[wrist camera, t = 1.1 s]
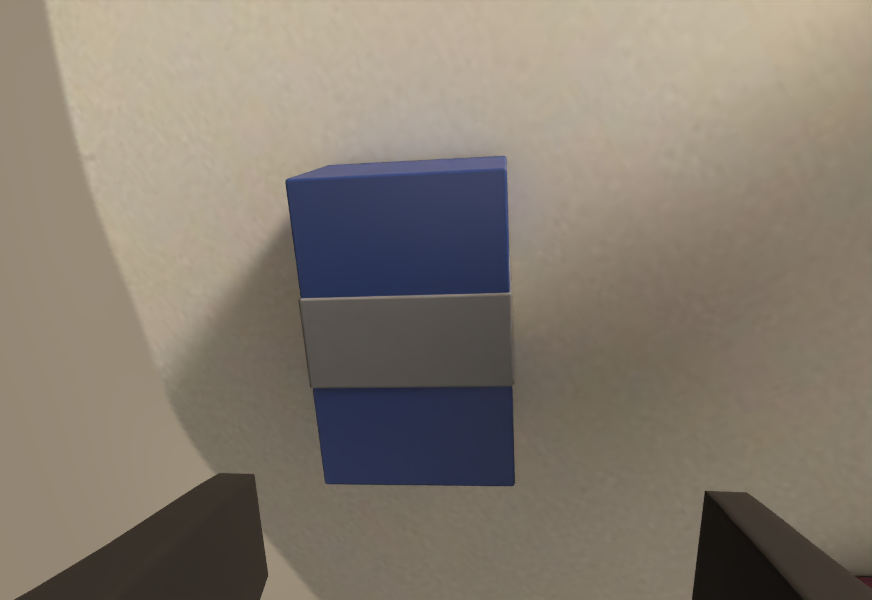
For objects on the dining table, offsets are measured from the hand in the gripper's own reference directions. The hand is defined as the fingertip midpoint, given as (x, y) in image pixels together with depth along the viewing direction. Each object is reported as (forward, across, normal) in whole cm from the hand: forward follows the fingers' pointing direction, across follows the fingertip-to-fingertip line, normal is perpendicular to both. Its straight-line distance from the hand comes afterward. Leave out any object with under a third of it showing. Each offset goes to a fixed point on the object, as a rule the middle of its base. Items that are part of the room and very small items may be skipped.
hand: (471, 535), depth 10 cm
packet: (+9, +2, -1) cm, 9 cm away
